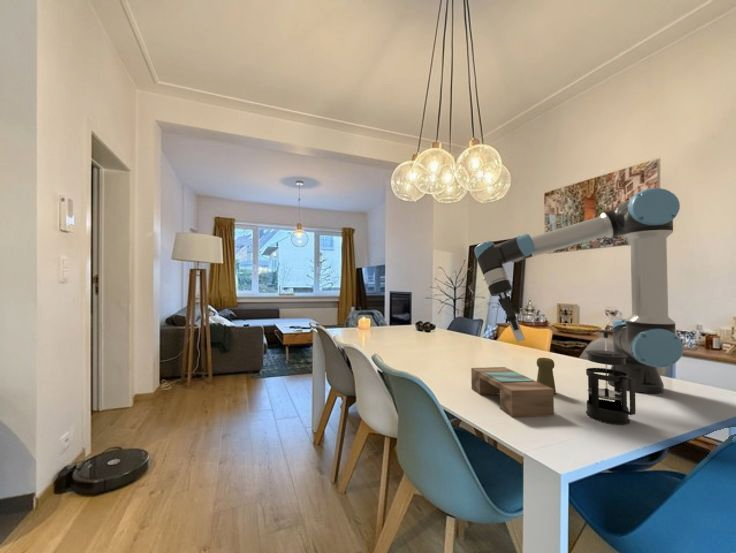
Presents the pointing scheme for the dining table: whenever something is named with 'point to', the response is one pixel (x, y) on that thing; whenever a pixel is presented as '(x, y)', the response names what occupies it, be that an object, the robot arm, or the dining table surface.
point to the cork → (546, 372)
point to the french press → (605, 408)
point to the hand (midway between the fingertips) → (521, 340)
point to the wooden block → (514, 391)
